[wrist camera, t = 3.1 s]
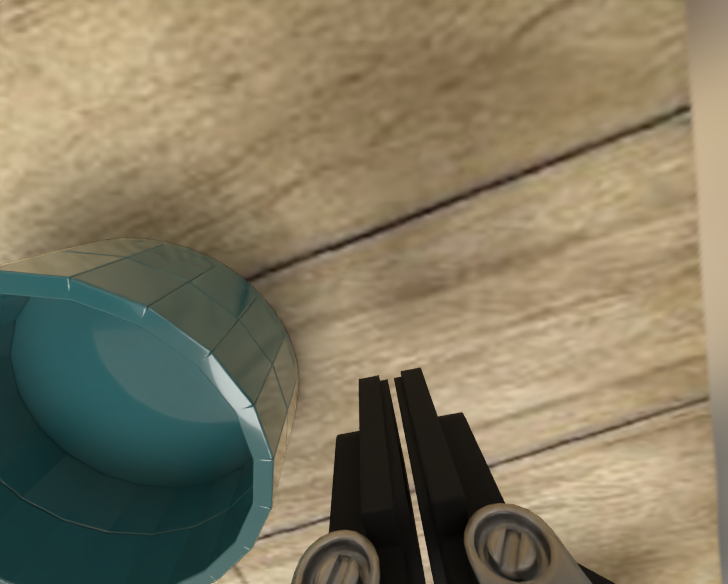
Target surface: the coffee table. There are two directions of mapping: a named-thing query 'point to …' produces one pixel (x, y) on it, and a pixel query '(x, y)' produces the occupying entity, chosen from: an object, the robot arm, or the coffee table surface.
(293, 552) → the coffee table surface
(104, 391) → the bowl
